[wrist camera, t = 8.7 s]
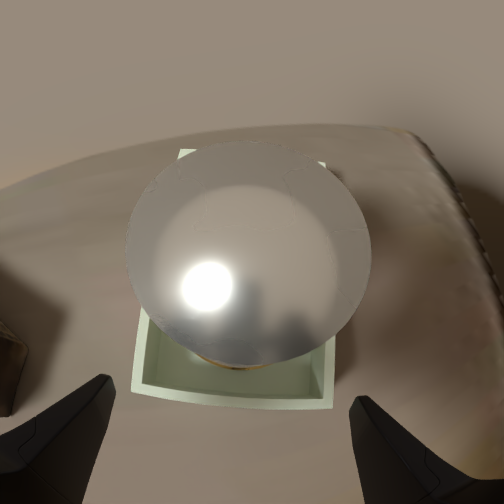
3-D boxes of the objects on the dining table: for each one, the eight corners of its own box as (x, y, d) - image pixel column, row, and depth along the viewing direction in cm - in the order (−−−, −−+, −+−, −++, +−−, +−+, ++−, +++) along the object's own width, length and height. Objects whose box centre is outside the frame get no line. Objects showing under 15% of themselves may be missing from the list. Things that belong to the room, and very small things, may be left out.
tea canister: (298, 320, 18) (407, 223, 6) (243, 387, 16) (275, 429, 4) (232, 268, 19) (237, 113, 8) (175, 330, 17) (77, 243, 6)
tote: (314, 402, 16) (332, 408, 13) (148, 388, 16) (130, 391, 13) (314, 189, 24) (325, 162, 20) (185, 176, 23) (180, 148, 20)
